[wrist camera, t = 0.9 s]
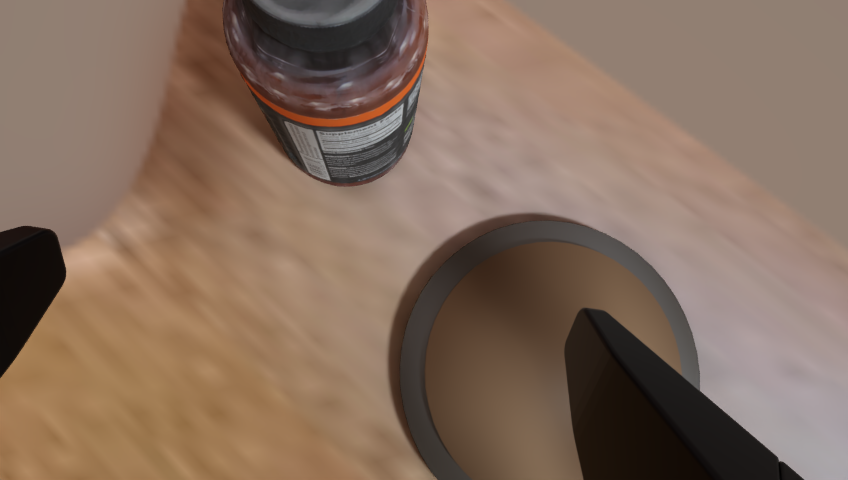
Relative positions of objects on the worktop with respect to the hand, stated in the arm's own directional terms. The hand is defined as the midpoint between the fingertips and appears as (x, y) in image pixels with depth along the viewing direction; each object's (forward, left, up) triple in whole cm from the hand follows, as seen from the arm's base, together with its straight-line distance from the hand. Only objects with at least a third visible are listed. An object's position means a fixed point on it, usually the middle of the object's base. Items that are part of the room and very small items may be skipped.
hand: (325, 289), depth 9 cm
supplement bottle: (+5, +6, -13) cm, 15 cm away
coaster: (+4, -8, -13) cm, 16 cm away
